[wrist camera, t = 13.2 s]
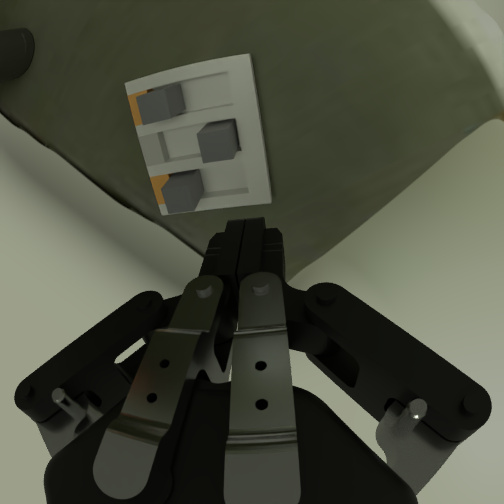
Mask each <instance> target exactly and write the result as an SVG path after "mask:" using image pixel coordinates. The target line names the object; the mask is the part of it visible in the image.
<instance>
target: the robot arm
mask: <svg viewBox="0 0 504 504" xmlns="http://www.w3.org/2000/svg"><path fill="white" fill-rule="evenodd" d="M33 52H34V41H33V37H32V35H31V33H30V32H29V31H28V30H27V29H24V28H20V29H11V30H3V31H0V83H1V82H4V81H7V80H11V79H14V78H17V77H19V76H21V75H22V74H23V73H24V72H25V71H26V70H27V68H28V67H29V65H30V63H31V60H32V57H33ZM237 323H238V331H236V329H237ZM141 338H143V340H144V342H145V343H146V344H144V345H143V346H142V347H141V348H139V349H138V350H137V351H135V352H134V353H133V354H132V355H130V356H129V357H128V358H126V359H125V360H124V361H122V362H121V363H117V364H116V363H114V362H115V359H116V358H117V356H119V355H120V354H121V353H123V352H124V351H125V350H126V349H128V348H129V347H130V346H131V345H133V344H134V343H135V342H137V341H138V340H139V339H141ZM289 349H292V350H296V351H300V352H305V353H306V356H307V357H308V359H309V360H310V361H311V362H313V363H314V364H315V365H316V366H317V367H318V368H319V369H320V370H321V371H322V372H323V373H324V374H325V375H327V376H328V377H329V378H330V379H331V380H332V381H333V382H334V383H335V384H336V385H338V386H339V387H340V388H341V389H342V390H343V391H345V392H346V394H348V395H349V396H350V397H351V398H352V399H353V400H354V401H356V402H357V403H358V404H359V405H360V406H361V407H362V408H363V409H365V410H366V411H367V412H368V413H369V414H370V415H371V416H373V417H374V418H375V419H376V420H377V421H378V422H379V425H378V427H377V429H376V440H377V443H378V445H379V446H380V447H381V448H382V450H383V451H384V453H385V455H386V458H387V464H386V463H385V462H384V461H383V460H382V459H381V458H380V457H379V456H377V454H376V453H375V452H373V451H372V450H371V449H370V448H369V447H368V446H367V445H366V444H365V443H364V442H363V441H362V440H361V439H360V438H359V437H358V436H357V435H356V434H355V433H354V432H353V431H352V430H351V429H350V428H349V427H348V426H347V425H346V424H345V423H344V422H343V421H342V420H341V419H340V418H339V417H338V416H337V415H336V414H335V413H334V412H333V411H332V410H331V409H330V408H329V407H328V406H327V404H326V403H324V402H323V401H322V400H321V399H320V398H318V397H317V396H316V395H314V394H312V393H311V392H309V391H307V390H304V389H302V388H299V387H296V386H292V376H291V366H290V356H289ZM231 365H232V374H231V381H229V382H228V380H229V374H230V369H231ZM14 400H15V404H16V406H17V407H18V408H19V409H21V410H22V411H23V412H24V413H25V414H27V415H28V416H29V417H30V418H31V419H32V420H33V421H34V422H36V424H37V426H38V428H39V431H40V433H41V435H42V438H43V440H44V442H45V444H46V446H47V449H48V451H49V453H50V455H51V457H52V459H51V460H50V461H49V463H48V465H47V467H46V471H45V474H44V489H45V494H46V500H47V504H418V501H417V498H416V495H417V494H418V493H419V492H420V491H421V489H422V488H423V487H424V486H425V485H426V484H427V483H428V482H429V481H430V479H431V478H432V477H433V476H434V475H435V474H436V472H437V471H438V470H439V469H440V468H441V466H442V465H443V464H444V463H445V461H446V460H447V459H448V457H449V456H450V455H451V454H452V452H453V451H454V450H455V448H456V447H457V446H458V445H459V444H460V443H462V442H463V441H464V440H466V439H467V438H468V437H469V436H471V435H472V434H473V433H474V432H476V431H477V430H478V429H479V428H480V427H481V426H483V425H484V424H485V423H486V421H487V420H488V419H489V416H490V413H491V409H492V405H491V399H490V396H489V394H488V393H487V391H486V390H485V389H484V388H483V387H482V386H480V385H479V384H478V383H476V382H475V381H473V380H472V379H471V378H470V377H468V376H467V375H466V374H464V373H463V372H461V371H460V370H459V369H457V368H456V367H455V366H453V365H452V364H450V363H449V362H448V361H446V360H445V359H444V358H442V357H441V356H439V355H438V354H436V353H435V352H434V351H432V350H431V349H430V348H428V347H427V346H426V345H424V344H423V343H421V342H420V341H418V340H417V339H416V338H414V337H413V336H411V335H410V334H409V333H407V332H406V331H404V330H403V329H402V328H400V327H399V326H397V325H396V324H394V323H393V322H392V321H390V320H389V319H387V318H386V317H384V316H383V315H382V314H380V313H379V312H377V311H376V310H374V309H373V308H371V307H370V306H369V305H367V304H366V303H364V302H363V301H362V300H360V299H359V298H357V297H356V296H354V295H353V294H351V293H350V292H348V291H347V290H346V289H344V288H343V287H341V286H339V285H337V284H333V283H327V282H326V283H318V284H315V285H313V286H311V287H310V288H309V289H308V290H307V291H302V290H298V289H295V288H292V287H291V286H289V285H288V284H287V283H286V282H285V257H284V247H283V237H282V234H281V232H280V231H279V230H278V228H268V229H266V226H265V219H264V217H258V218H247V219H236V220H228V222H227V225H226V229H225V232H221V233H216V234H215V235H214V236H213V237H212V238H211V240H210V241H209V244H208V247H207V250H206V254H205V257H204V260H203V263H202V266H201V269H200V273H199V276H198V277H197V278H195V279H193V280H192V281H190V282H189V283H188V284H187V285H186V287H185V289H184V292H183V294H182V295H179V296H176V297H172V298H169V299H165V300H163V298H162V296H161V294H160V293H158V292H156V291H145V292H142V293H140V294H138V295H136V296H134V297H133V298H132V299H131V300H129V301H128V302H126V303H125V304H123V305H122V306H121V307H119V308H118V309H116V310H115V311H114V312H112V313H111V314H110V315H108V316H107V317H106V318H104V319H103V320H102V321H100V322H99V323H97V324H96V325H95V326H94V327H92V328H91V329H89V330H88V331H87V332H85V333H84V334H83V335H81V336H80V337H79V338H77V339H76V340H75V341H73V342H72V343H71V344H69V345H68V346H67V347H65V348H64V349H63V350H61V351H60V352H59V353H57V354H56V355H55V356H53V357H52V358H51V359H50V360H48V361H47V362H46V363H44V364H43V365H42V366H40V367H39V368H38V369H37V370H35V371H34V372H33V373H31V374H30V375H29V376H28V377H26V378H25V379H24V380H23V381H22V382H21V383H20V384H19V385H18V387H17V389H16V391H15V396H14Z"/></svg>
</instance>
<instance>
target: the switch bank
mask: <svg viewBox="0 0 504 504" xmlns="http://www.w3.org/2000/svg"><path fill="white" fill-rule="evenodd" d="M177 84H181V89H182V94H183V99H184V103H185V108H186V109H185V110H184V111H182V112H181V113H179V114H178V115H176V116H174V117H173V118H171V119H167V120H163V121H159V122H155V123H151V124H147V125H143V124H142V120H141V116H140V112H139V108H138V104H137V100H136V97H137V96H140V95H142V94H145V93H148V92H151V91H154V90H157V89H161V88H165V87H169V86H173V85H177ZM125 87H126V91H127V95H128V99H129V104H130V108H131V111H132V115H133V119H134V123H135V127H136V131H137V134H138V138H139V142H140V145H141V149H142V152H143V156H144V159H145V163H146V166H147V169H148V173H149V176H150V179H151V183H152V186H153V189H154V192H155V196H156V199H157V202H158V205H159V208H160V211H161V214H162V215H169V214H168V211H167V208H166V204H165V201H164V198H163V195H162V191H161V188H162V187H163V186H164V184H165V183H166V182H167V180H168V179H169V178H170V177H171V175H172V174H173V173H176V172H182V171H188V170H194V169H199V170H200V174H201V178H202V182H203V186H204V192H203V195H202V197H201V199H200V201H199V203H198V205H197V207H196V209H195V211H201V210H209V209H218V208H227V207H237V206H247V205H257V204H267V203H271V201H272V192H271V184H270V177H269V169H268V162H267V155H266V148H265V141H264V134H263V127H262V120H261V114H260V107H259V101H258V94H257V88H256V81H255V75H254V69H253V63H252V57H251V54H243V55H236V56H230V57H224V58H219V59H214V60H208V61H204V62H199V63H194V64H190V65H186V66H182V67H178V68H174V69H170V70H166V71H162V72H159V73H155V74H152V75H149V76H145V77H142V78H139V79H136V80H133V81H130V82H127V83H125ZM228 119H235V122H236V127H237V133H238V139H239V147H238V149H237V152H236V154H235V157H234V159H231V160H223V161H216V162H209V163H203V161H202V157H201V153H200V148H199V144H198V139H197V135H196V134H197V133H198V132H199V131H200V130H201V129H202V128H203V127H204V126H205V125H206V124H207V123H210V122H215V121H222V120H228ZM189 212H192V211H189ZM181 213H184V212H181ZM173 214H176V213H173Z"/></svg>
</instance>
